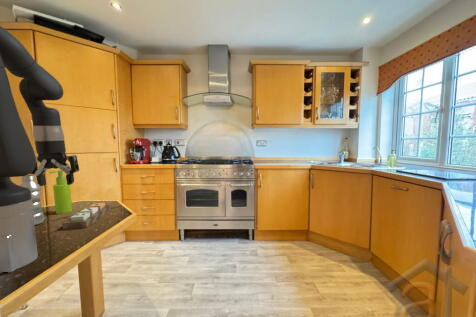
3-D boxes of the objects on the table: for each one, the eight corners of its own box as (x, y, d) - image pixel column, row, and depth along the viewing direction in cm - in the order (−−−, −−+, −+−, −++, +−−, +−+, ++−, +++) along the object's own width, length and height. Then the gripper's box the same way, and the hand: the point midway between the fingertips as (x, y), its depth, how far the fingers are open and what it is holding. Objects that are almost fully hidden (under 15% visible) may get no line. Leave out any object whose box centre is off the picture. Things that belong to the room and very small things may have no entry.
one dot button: (100, 212, 92) (100, 205, 92) (89, 212, 91) (89, 206, 91) (105, 208, 96) (104, 202, 96) (94, 209, 96) (94, 202, 95)
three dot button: (92, 217, 86) (92, 210, 85) (81, 218, 85) (80, 211, 85) (98, 213, 90) (97, 206, 90) (87, 214, 89) (86, 207, 89)
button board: (86, 227, 78) (86, 221, 78) (63, 229, 77) (62, 223, 76) (111, 209, 99) (110, 204, 98) (92, 210, 97) (92, 205, 97)
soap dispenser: (50, 214, 93) (45, 171, 91) (66, 209, 100) (62, 168, 98) (59, 215, 91) (54, 171, 89) (75, 210, 98) (71, 169, 96)
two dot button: (84, 223, 79) (83, 216, 79) (71, 224, 79) (70, 216, 78) (90, 219, 84) (89, 211, 83) (78, 220, 83) (77, 212, 83)
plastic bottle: (49, 221, 85) (44, 174, 83) (31, 228, 78) (25, 177, 76) (35, 221, 85) (30, 174, 83) (16, 228, 78) (10, 177, 77)
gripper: (15, 140, 64) (24, 189, 67) (66, 139, 67) (72, 187, 70) (34, 138, 72) (41, 182, 74) (79, 138, 74) (85, 181, 77)
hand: (56, 184), depth 72 cm, fingers open, 8 cm apart
